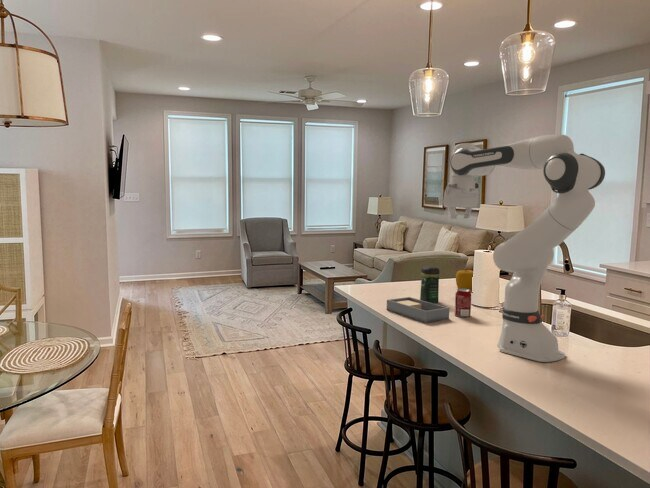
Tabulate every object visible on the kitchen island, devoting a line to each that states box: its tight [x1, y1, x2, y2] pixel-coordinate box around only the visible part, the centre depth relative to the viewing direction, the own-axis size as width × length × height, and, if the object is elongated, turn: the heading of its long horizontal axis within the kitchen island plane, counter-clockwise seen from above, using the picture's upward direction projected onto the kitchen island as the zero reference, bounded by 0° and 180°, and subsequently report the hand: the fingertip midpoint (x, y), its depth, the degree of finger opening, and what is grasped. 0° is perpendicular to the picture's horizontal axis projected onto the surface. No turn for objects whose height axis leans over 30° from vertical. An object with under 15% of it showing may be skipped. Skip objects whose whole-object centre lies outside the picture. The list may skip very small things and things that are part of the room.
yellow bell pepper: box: [455, 269, 474, 291], centre depth 272 cm, size 11×11×13 cm
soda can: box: [454, 288, 472, 318], centre depth 217 cm, size 7×7×12 cm
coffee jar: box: [419, 265, 441, 304], centre depth 242 cm, size 10×8×19 cm
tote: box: [386, 296, 450, 324], centre depth 219 cm, size 26×14×5 cm, turn 32°
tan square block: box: [398, 300, 421, 309], centre depth 224 cm, size 9×9×3 cm
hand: (460, 218), depth 199 cm, fingers open, 8 cm apart
